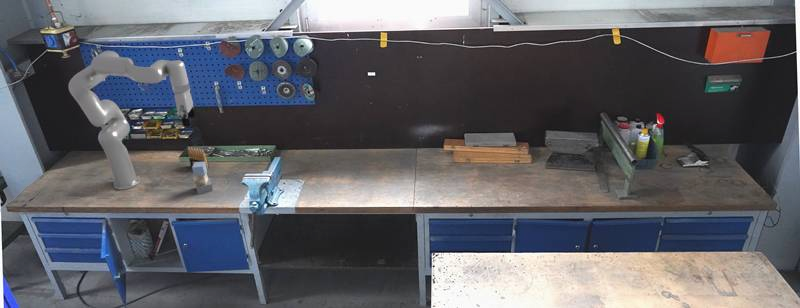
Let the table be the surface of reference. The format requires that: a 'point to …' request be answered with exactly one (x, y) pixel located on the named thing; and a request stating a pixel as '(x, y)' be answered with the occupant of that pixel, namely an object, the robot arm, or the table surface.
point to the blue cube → (199, 168)
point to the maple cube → (200, 180)
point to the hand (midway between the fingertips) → (189, 121)
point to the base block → (204, 187)
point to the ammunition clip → (197, 156)
